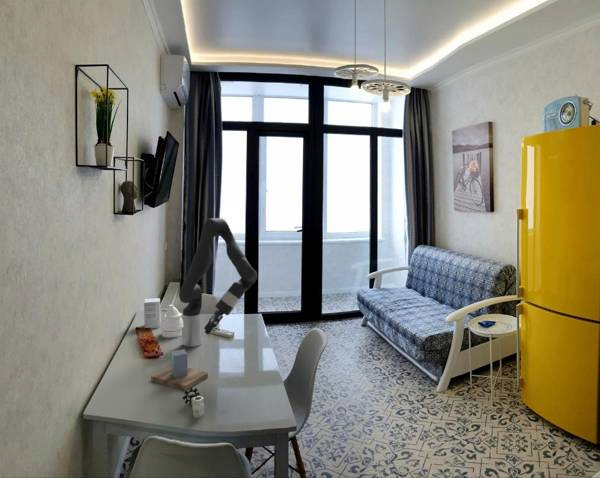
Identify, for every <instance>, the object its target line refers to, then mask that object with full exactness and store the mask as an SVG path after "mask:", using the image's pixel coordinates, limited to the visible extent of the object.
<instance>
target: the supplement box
mask: <svg viewBox="0 0 600 478" xmlns="http://www.w3.org/2000/svg"><path fill="white" fill-rule="evenodd" d="M143 314H144V315H143V316H144V318H143V319H144V328H145V327H151V328H150V329H160V328H161V326H162V325H161V324H162V321H161V319H162V316H161V298H160V297H156V298H145V299H144V302H143ZM159 327H160V328H159Z"/></svg>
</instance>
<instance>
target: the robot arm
mask: <svg viewBox="0 0 600 478" xmlns="http://www.w3.org/2000/svg"><path fill="white" fill-rule="evenodd" d="M214 237H221V238H222V240H223V241H224V242H225V247H226V255H227V257H228V259H229V260H230V262H231V264H232V265H233V266H234V267H235V269H236V272H237V274H238V276H240V279H239V280H238V281H235V282H233V283H232V284H231V285H230V287H229V288H228V290H227V291H225V292H224V294H223V296H221V298H220V299H219V300H218V302H217V303H216V304H215V308H216V310H215V311H214V313H213V314H212V315H211V317H210V318H209V320H208V322H207V324H206V325H205V326H204V333H205V334H206V335H210V334H211V332H212V331H213V329H215V328H216V327H217V326H218V325H219V324H220V322H221V320H222V319H223V318H224V316H223V315H225V316H229V315H230V314H231V312H232V311H233V310H234V308H236V306H237V304H238V303H239V300H240V299H241V298H242V297H243V295H244V294H245V293H246V291H248V290H249V289H250V288H251V287H252V286H253V285H254V284H255V283H256V281H257V279H258V272H257V270H255V269H254V268H253V266H252V265H251V264H250V262H249V261H248V259H247V257H246V255H245V254H244V252H243V251H242V250H241V248H240V247H239V245H238V243H237V241H236V239H235V237H234V234H233V233H232V230H231V228H230V226H229V224H228V223H227V221H226V220H225V218H221V217H218V218H217V217H212V218H211V217H210V218H208V219H206V221H204V224H203V227H202V230H201V234H200V238H199V239H200V240H199V242H198V246H197V247H196V250H195V251H196V252H195V253H194V256H193V259H192V261H191V264H190V267H189V269H188V272H187V274H186V277H185V278H184V280H183V282H182V285H181V287H180V290H179V292H178V297H179V300H180V302H181V303H183V304H187V305H186V307H184V308H183V310H182V321H183V327H182V336H181V338H182V339H181V343H182V345H183V346H184V347H186V348H195V347H198V346H200V345H201V344H202V328H201V326H202V325H201V321H202V320H201V310H202V307H203V305H202V303H203V300H202V299H203V291H202V288H201V286H200V285H199V284H197V283H198V282H199V281H200V280H201V279H202V278H203V276H205V275H206V273H207V272H208V270H209V268H210V266H211V263H212V261H213V255H212V254H213V253H212V250H211V245H212V241H213V239H214Z"/></svg>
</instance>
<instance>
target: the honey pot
mask: <svg viewBox="0 0 600 478" xmlns="http://www.w3.org/2000/svg"><path fill="white" fill-rule="evenodd" d="M168 307H169V308H168V310H167V311H166V313H165V314H164V315H163V317H164V319H163V320H162V321H163V322H162V325H161V336H162V337H163V338H168V339H169V338H178V337H182V327H183V317H182V316H183V313H181V312H179V310H178V308H177V307H175V306H174V304H169V305H168Z"/></svg>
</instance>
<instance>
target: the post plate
mask: <svg viewBox="0 0 600 478" xmlns="http://www.w3.org/2000/svg"><path fill="white" fill-rule="evenodd" d="M187 368H188V375H187V376H182V377H178V378H174V376H173V374H172V365H170V366H168V367H166V368H164V369H162V370H161V371H158V372H157V373H154V374H152V375H151V377H150V378H151V379H150V380H153V382H155V381H156V383H158V382H160V384H162V383H163V384H162V385H165V384H166V385H165V386H169V387H173V388H177V389H180V390H184V391H188V390H189V388H190V387H192V388H193V386H196V385H197V384H199V383H200V382H202V381H204V380H205V379H207V378H208V377H209V373H208V372H206V371H204V370H198V369H194V368H191V367H187ZM195 384H196V385H195Z"/></svg>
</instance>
